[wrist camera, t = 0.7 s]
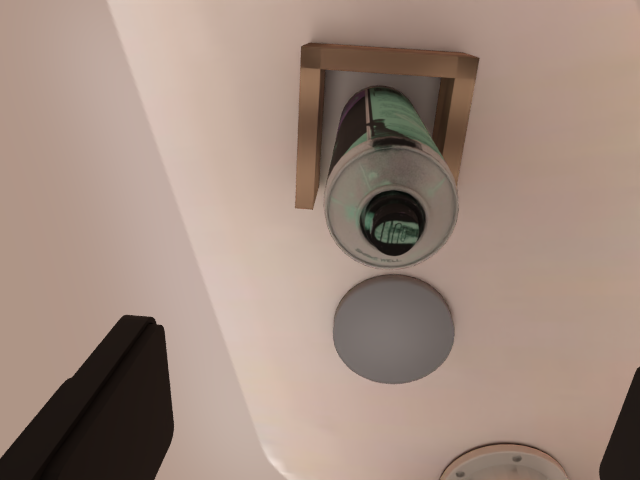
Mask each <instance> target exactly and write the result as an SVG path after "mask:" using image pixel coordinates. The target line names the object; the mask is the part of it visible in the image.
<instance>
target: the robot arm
mask: <svg viewBox="0 0 640 480" xmlns="http://www.w3.org/2000/svg"><path fill="white" fill-rule="evenodd" d="M173 431H174V421H173V411H172V401H171V391H170V381H169V371H168V361H167V352H166V341H165V331H164V328H163V326H162V325H157V324H156V321H155V319H154V318H153V317H146V316H133V315H124V316H123V317H121V319H120V320H119V321H118V322H117V323H116V324H115V326H114V327H113V328H112V329H111V331H110V332H109V333H108V334H107V336H106V337H105V338H104V339H103V340H102V342H101V343H100V344H99V345H98V346H97V348H96V349H95V350H94V351H93V353H92V354H91V355H90V356H89V357H88V359H87V360H86V361H85V362H84V363H83V365H82V366H81V367H80V368H79V370H78V371H77V372H76V373H75V375H74V376H73V377H72V378H69V379H67V380H66V381H65V382H64V383H63V384H62V385H61V386H60V387H59V389H58V390H57V391H56V392H55V393H54V395H53V396H52V397H51V398H50V399H49V401H48V402H47V403H46V404H45V405H44V407H43V408H42V409H41V410H40V412H39V413H38V414H37V415H36V416H35V417H34V419H33V420H32V421H31V422H30V423H29V425H28V426H27V427H26V428H25V430H24V431H23V432H22V433H21V434H20V436H19V437H18V438H17V439H16V440H15V442H14V443H13V444H12V445H11V446H10V448H9V449H8V450H7V451H6V452H5V454H4V455H3V456H2V457H1V459H0V480H154V479H155V477H156V474H157V472H158V470H159V468H160V466H161V464H162V461H163V459H164V457H165V455H166V453H167V450H168V448H169V446H170V444H171V441H172V437H173ZM599 475H600V480H640V367H639V368H637V370H636V372H635V375H634V377H633V380H632V383H631V385H630V388H629V391H628V393H627V396H626V398H625V401H624V404H623V406H622V409H621V412H620V414H619V417H618V420H617V422H616V425H615V427H614V430H613V433H612V435H611V438H610V441H609V443H608V446H607V448H606V451H605V454H604V456H603V459H602V462H601V464H600V468H599ZM440 480H569V479H568V477H567V475H566V473H565V471H564V469H563V468H562V467H561V466H560V464H559V463H558V462H557V461H556V460H554V459H553V458H552V457H550V456H549V455H548V454H545V453H543V452H541V451H539V450H537V449H534V448H530V447H527V446H521V445H513V444H499V445H492V446H486V447H482V448H479V449H475V450H473V451H471V452H469V453H466V454H464V455H463V456H461V457H460V458H458V459H457V460H455V461H454V462H453V463H452V464H451V465H450V466H449V467H448V468H447V469H446V470H445V472H444V473H443V475H442V476H441V479H440Z"/></svg>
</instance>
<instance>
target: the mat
mask: <svg viewBox="0 0 640 480" xmlns="http://www.w3.org/2000/svg"><path fill="white" fill-rule="evenodd" d="M333 339H334V345H335V348H336V351H337V353H338V355H339V357H340V358H341V359H342V361H343V362H344V363H345V364H346V365H347V367H349V368H350V369H351V370H352V371H353V372H355V373H356V374H358V375H360V376H362V377H364V378H366V379H369V380H371V381H375V382H379V383H385V384H402V383H408V382H412V381H415V380H418V379H421V378H423V377H425V376H427V375H429V374H430V373H432V372H433V371H435V370H436V369H437V368H438V367H439V366H440V365H441V364H442V363H443V362H444V361H445V360H446V358H447V357H448V355H449V353H450V351H451V349H452V345H453V342H454V326H453V321H452V318H451V315H450V311H449V309H448V306H447V304H446V302H445V301H444V299H443V298H442V296H441V295H440V294H439V293H438V292H437V291H436V290H435V289H434V288H432V287H431V286H430V285H428V284H426V283H425V282H423V281H421V280H418V279H416V278H412V277H409V276H403V275H383V276H378V277H374V278H371V279H368V280H366V281H363V282H361V283H360V284H358V285H356V286H355V287H354V288H352V289H351V290H350V291H349V292H348V293H347V294H346V295H345V296H344V297H343V299H342V300H341V302H340V303H339V305H338V307H337V310H336V313H335V318H334V327H333Z"/></svg>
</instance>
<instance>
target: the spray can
mask: <svg viewBox="0 0 640 480" xmlns="http://www.w3.org/2000/svg"><path fill="white" fill-rule="evenodd" d="M324 211H325V218H326V223H327V226H328V229H329V232H330V234H331V236H332V238H333V239H334V241H335V243H336V244H337V246H338V247H339V248H340V249H341V250H342V251H343V252H344V253H345V254H346V255H348V256H349V257H351V258H352V259H353V260H355V261H357V262H359V263H361V264H363V265H365V266H369V267H372V268H376V269H385V270H395V269H404V268H407V267H411V266H415V265H417V264H419V263H421V262H423V261H425V260H427V259H428V258H430V257H431V256H433V255H434V254H435V253H437V252H438V251H439V250H440V249H441V248H442V247H443V246H444V244H445V243H446V242H447V240H448V239H449V237H450V236H451V234H452V232H453V230H454V227H455V225H456V222H457V217H458V211H459V204H458V193H457V187H456V183H455V179H454V177H453V175H452V173H451V171H450V169H449V167H448V165H447V163H446V162H445V160H444V158H443V157H442V155H441V153H440V152H439V150H438V148H437V146H436V145H435V143H434V141H433V140H432V138H431V136H430V135H429V133H428V131H427V130H426V128H425V126H424V124H423V123H422V121H421V119H420V118H419V116H418V114H417V113H416V111H415V109H414V107H413V106H412V104H411V103H410V101H409V100H408V99H407V98H406V97H405V96H404V95H403V94H402V93H400V92H399V91H397V90H395V89H393V88H390V87H386V86H373V87H369V88H366V89H363V90H361V91H360V92H358V93H356V94H355V95H354V96H353V97H352V98H351V99H350V100H349V101H348V103H347V104H346V105H345V107H344V110H343V112H342V115H341V118H340V123H339V127H338V132H337V137H336V141H335V146H334V150H333V155H332V160H331V164H330V169H329V174H328V178H327V183H326V187H325V192H324Z"/></svg>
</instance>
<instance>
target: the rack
mask: <svg viewBox="0 0 640 480" xmlns="http://www.w3.org/2000/svg"><path fill="white" fill-rule="evenodd" d="M478 63H479V58H478V57H475V56H472V55H469V54H466V53H460V52H445V51H429V50H414V49H398V48H383V47H367V46H352V45H336V44H321V43H308V44H306V45H303V46H301V68H300V95H299V121H298V147H297V173H296V200H295V208H299V209H312V210H313V207H314V203H315V199H316V195H317V192H318V188H319V174H320V157H321V140H322V122H323V105H324V88H325V71H326V70H341V71H355V72H370V73H385V74H400V75H415V76H430V77H441V83H440V90H439V97H438V103H437V110H436V116H435V123H434V130H433V136H432V140H433V141H434V143H435V145H436V146H437V148H438V150H439V152H440V153H441V155H442V157H443V158H444V160H445V162H446V163H447V165H448V167H449V169H450V171H451V173H452V175H453V177H454V179H455V183H456V186H457V181H458V175H459V169H460V164H461V158H462V153H463V147H464V141H465V136H466V130H467V125H468V119H469V113H470V108H471V102H472V97H473V91H474V86H475V80H476V74H477V69H478Z"/></svg>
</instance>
